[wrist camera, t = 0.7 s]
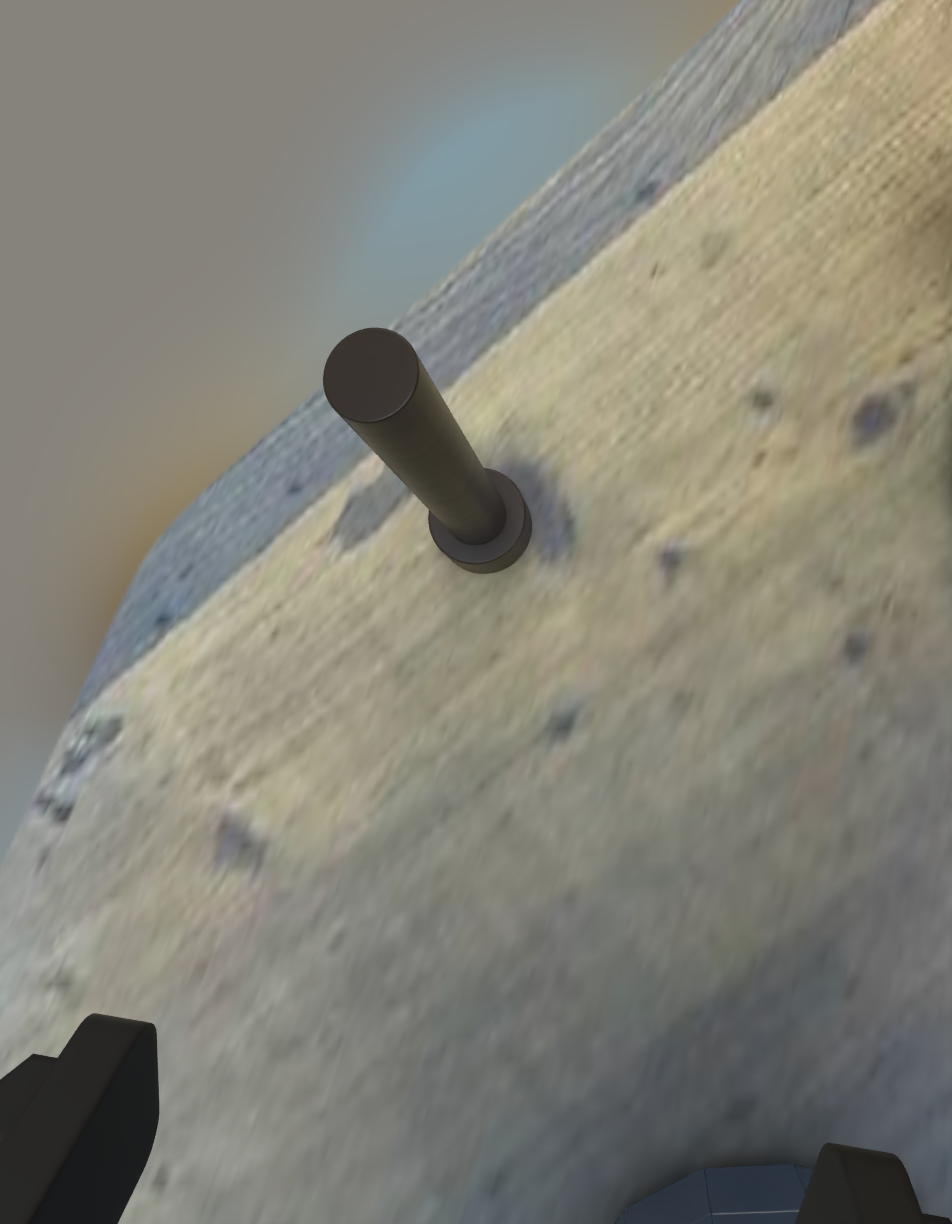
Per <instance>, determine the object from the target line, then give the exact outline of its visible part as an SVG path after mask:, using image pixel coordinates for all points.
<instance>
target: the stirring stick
mask: <svg viewBox="0 0 952 1224" xmlns="http://www.w3.org/2000/svg"><path fill="white" fill-rule="evenodd" d="M323 386H324V391H325V395H326V397H327V399H328V402H329V403H330V405H331V406H332V408H333V409H334V410H335V411H336V412H337V413H338V414H339V415H340V416H341V417H342V418H343V419H344V421H345V422H346V423H347V424H348V425H349V426H350V427H351V428H352V429H353V430H354V431H355V432H356V433H357V434H358V435H359V436H360V437H361V438H362V439H363V441H364V442H365V443H366V444H367V445H368V446H369V447H370V448H371V449H372V450H373V451H374V452H375V453H376V454H377V455H378V456H379V457H380V458H381V460H382V461H383V462H384V463H385V464H386V465H387V466H388V467H389V468H390V469H391V470H392V471H393V472H394V473H395V474H396V475H397V476H398V477H399V479H400V480H401V481H402V482H403V483H404V484H405V485H406V486H407V487H408V488H409V489H410V490H411V491H412V492H413V493H414V494H415V495H416V496H417V498H418V499H419V500H420V501H421V502H422V503H423V504H424V505H425V506H426V507H427V508H428V509H429V516H428V520H429V528H430V532H431V535H432V537H433V539H434V542H435V543H436V545H437V546H438V547H439V548H440V550H441V551H442V552H443V553H444V554H446V555H447V556H448V557H449V558H450V559H451V560H452V561H453V562H454V563H456V564H457V565H458V566H460V567H461V568H463V569H465V570H468V571H471V572H475V573H493V572H497V571H500V570H503V569H505V568H507V567H509V566H510V565H511V564H513V563H514V562H515V561H516V560H517V559H518V558H519V557H520V556H521V555H522V554H523V552H524V551H525V549H526V547H527V545H528V543H529V540H530V536H531V530H532V522H531V516H530V512H529V509H528V507H527V505H526V503H525V501H524V499H523V497H522V495H521V493H520V491H519V489H518V488H517V486H516V485H515V484H514V483H513V482H512V481H511V480H510V479H509V478H508V477H507V476H505V475H503V474H502V473H500V472H497V471H495V470H491V469H486V468H483V466H482V464H481V463H480V461H479V459H478V458H477V456H476V454H475V453H474V451H473V449H472V447H471V446H470V444H469V442H468V441H467V439H466V437H465V436H464V434H463V432H462V430H461V429H460V427H459V425H458V424H457V422H456V420H455V419H454V417H453V415H452V413H451V412H450V410H449V408H448V407H447V405H446V403H445V402H444V400H443V398H442V396H441V395H440V393H439V391H438V390H437V388H436V386H435V385H434V383H433V381H432V379H431V378H430V376H429V374H428V373H427V371H426V369H425V368H424V366H423V364H422V362H421V361H420V359H419V357H418V356H417V354H416V352H415V351H414V349H413V347H412V346H411V344H410V343H409V342H408V341H407V340H406V339H405V338H404V337H402V336H401V335H399V334H398V333H396V332H394V331H391V330H388V329H384V328H367V329H362V330H359V331H356V332H354V333H352V334H350V335H348V336H347V337H345V338H344V339H343V340H342V341H341V342H340V343H339V344H337V346H336V347H335V348H334V349H333V351H332V352H331V354H330V355H329V357H328V359H327V362H326V365H325V369H324V375H323Z"/></svg>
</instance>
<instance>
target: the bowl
mask: <svg viewBox="0 0 952 1224" xmlns="http://www.w3.org/2000/svg"><path fill="white" fill-rule="evenodd" d="M812 1173H813V1170H811V1169H808V1168H805V1167H802V1166H799V1165H796V1166H795V1165H794V1164H782V1165H760V1166H739V1167H718V1168H705V1169H704V1168H702V1169H700V1170H698V1171H696V1172H695V1173H693V1174H691V1175H689V1176H687V1177H685V1178H683V1179H681V1180H679V1181H677V1182H675V1183H673V1184H671V1185H670V1186H668V1187H666V1188H664V1189H662V1190H660V1191H658V1192H656V1193H654V1194H652V1195H650V1196H648V1197H646V1198H645V1199H643V1200H641V1201H639V1202H637V1203H635V1204H633V1205H631V1206H629V1207H628V1208H627V1209H626V1210H625V1211H624V1212H623V1214H622V1215H621V1216H620V1218H619V1219H618V1220H617V1221H616V1223H615V1224H795V1221H796V1218H797V1215H798V1212H799V1209H800V1207H801V1204H802V1201H803V1198H804V1195H805V1193H806V1190H807V1187H808V1184H809V1181H810V1178H811V1176H812Z"/></svg>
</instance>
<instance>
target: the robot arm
mask: <svg viewBox="0 0 952 1224" xmlns="http://www.w3.org/2000/svg"><path fill="white" fill-rule="evenodd" d="M158 1120H159V1085H158V1058H157V1034H156V1028H155V1026H154V1024H152V1023H148V1022H143V1021H137V1020H131V1019H125V1018H119V1017H114V1016H108V1015H102V1014H96V1013H94V1014H91V1015H89V1016H88V1017H86V1018H85V1019H84V1021H83V1022H82V1023H81V1024H80V1026H79V1027H78V1028H77V1030H76V1031H75V1033H74V1034H73V1036H72V1037H71V1039H70V1040H69V1042H68V1043H67V1045H66V1046H65V1048H64V1049H63V1051H62V1052H61V1054H60V1055H59V1057H58V1058H54V1057H48V1056H43V1055H37V1054H32V1055H31V1056H30V1057H29V1058H27V1059H26V1060H25V1061H23V1062H22V1063H21V1064H20V1065H18V1066H17V1067H16V1068H15V1069H13V1070H12V1071H11V1072H9V1073H8V1074H7V1075H6V1076H4V1077H3V1078H2V1079H1V1080H0V1224H118V1222H119V1220H120V1218H121V1216H122V1213H123V1211H124V1209H125V1207H126V1205H127V1203H128V1201H129V1199H130V1197H131V1195H132V1193H133V1191H134V1189H135V1187H136V1185H137V1183H138V1181H139V1179H140V1176H141V1174H142V1172H143V1170H144V1168H145V1166H146V1163H147V1161H148V1158H149V1155H150V1152H151V1150H152V1146H153V1143H154V1139H155V1135H156V1131H157V1126H158ZM795 1224H952V1222H951V1221H950V1220H949V1218H945V1217H939V1216H933V1215H928V1214H922V1212H921V1209H920V1206H919V1204H918V1201H917V1198H916V1196H915V1193H914V1190H913V1187H912V1185H911V1182H910V1179H909V1176H908V1174H907V1171H906V1169H905V1167H904V1165H903V1163H902V1162H901V1160H900V1159H899V1158H898V1157H897V1156H896V1155H894V1154H892V1153H886V1152H881V1151H875V1150H869V1149H863V1148H857V1147H852V1146H846V1145H840V1144H834V1143H826V1144H825V1145H824V1146H823V1147H822V1149H821V1151H820V1153H819V1156H818V1159H817V1162H816V1164H815V1167H814V1170H813V1173H812V1176H811V1178H810V1181H809V1184H808V1187H807V1190H806V1193H805V1195H804V1198H803V1201H802V1204H801V1207H800V1209H799V1212H798V1215H797V1218H796V1221H795Z"/></svg>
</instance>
